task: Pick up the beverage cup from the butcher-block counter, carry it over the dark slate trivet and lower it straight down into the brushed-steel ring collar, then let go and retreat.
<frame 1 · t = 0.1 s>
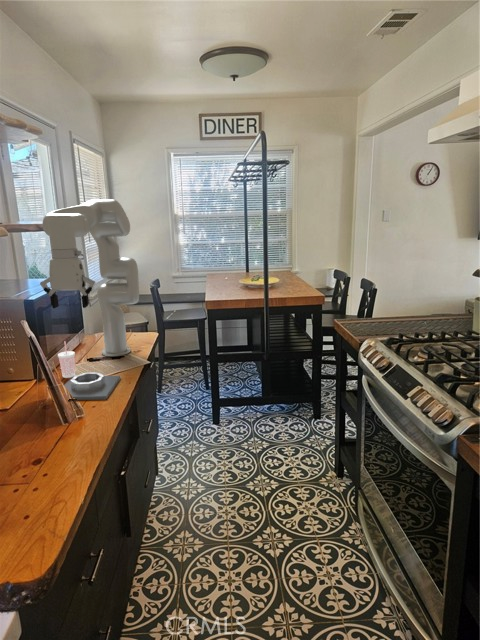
hand: (70, 307, 134), 31 cm above the kitchen counter, tool pointing down, fingers open, 9 cm apart
beverage cup: (69, 376, 159), on the kitchen counter
slate trivet: (88, 388, 146), on the kitchen counter
steel collar: (87, 381, 146), on the slate trivet, point 3 cm above the kitchen counter
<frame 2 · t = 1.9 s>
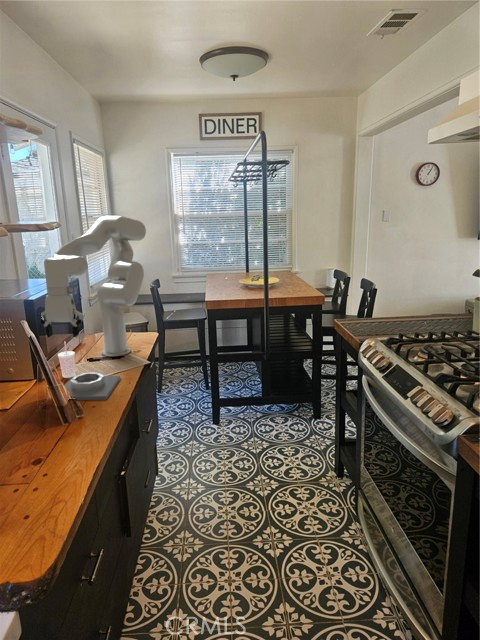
hand: (62, 336, 154), 16 cm above the kitchen counter, tool pointing down, fingers open, 9 cm apart
nothing on the kitchen counter moved.
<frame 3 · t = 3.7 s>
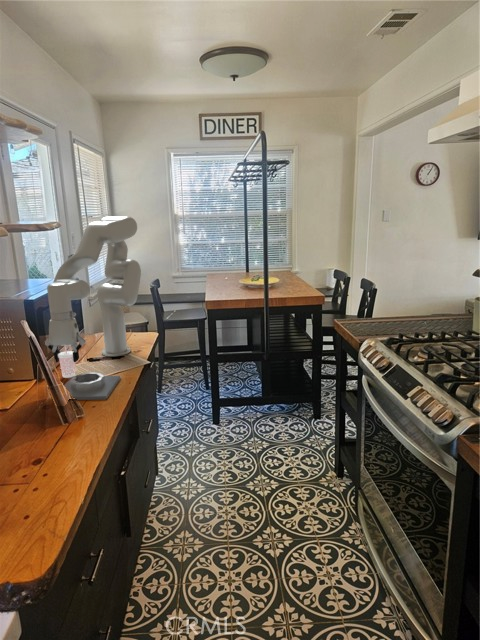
hand: (67, 360, 157), 6 cm above the kitchen counter, tool pointing down, fingers closed on beverage cup, 6 cm apart
beverage cup: (69, 376, 159), on the kitchen counter, touching gripper
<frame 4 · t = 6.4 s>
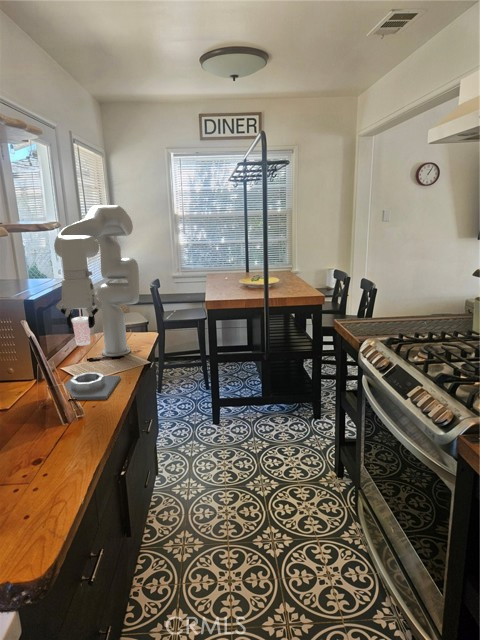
hand: (81, 326, 140), 23 cm above the kitchen counter, tool pointing down, fingers closed on beverage cup, 6 cm apart
beverage cup: (83, 344, 142), point 17 cm above the kitchen counter, touching gripper
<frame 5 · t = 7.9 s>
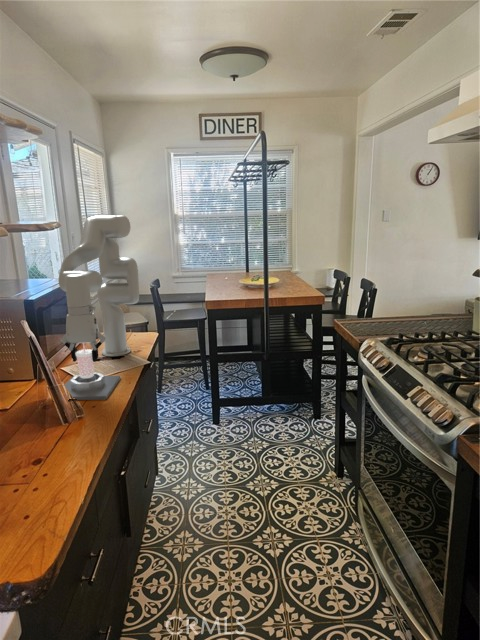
hand: (85, 359, 143), 11 cm above the kitchen counter, tool pointing down, fingers closed on beverage cup, 6 cm apart
beverage cup: (87, 376, 145), point 5 cm above the kitchen counter, touching gripper
when the fingers open (9 cm above the kitchen counter, at t = 9.2 s): beverage cup drops 1 cm, resting on slate trivet.
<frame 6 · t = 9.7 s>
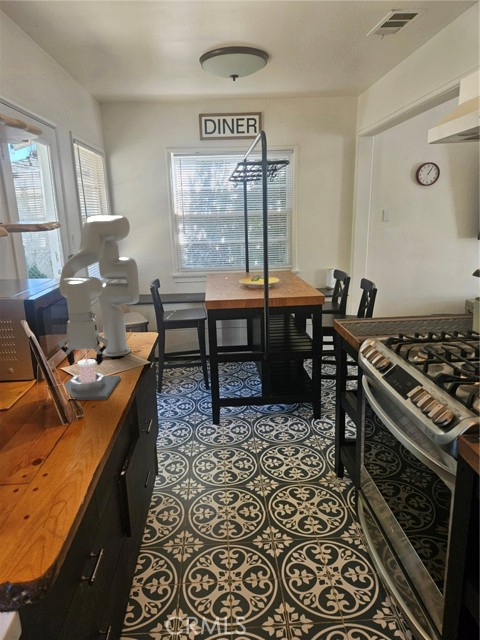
hand: (85, 363, 144), 9 cm above the kitchen counter, tool pointing down, fingers open, 9 cm apart
beverage cup: (88, 385, 146), point 1 cm above the kitchen counter, touching slate trivet
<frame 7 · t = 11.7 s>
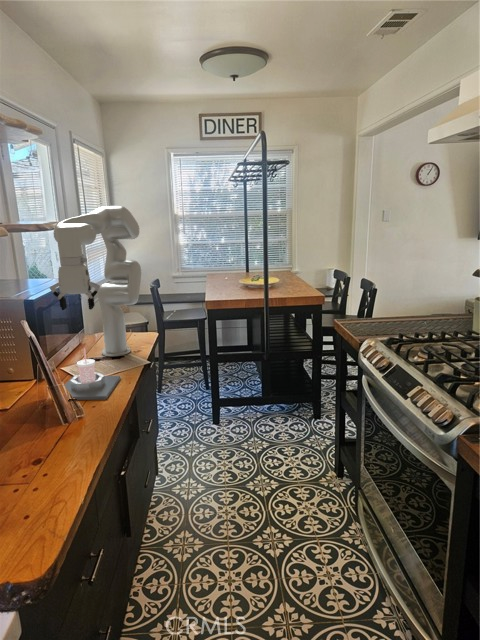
hand: (77, 308, 148), 27 cm above the kitchen counter, tool pointing down, fingers open, 9 cm apart
nothing on the kitchen counter moved.
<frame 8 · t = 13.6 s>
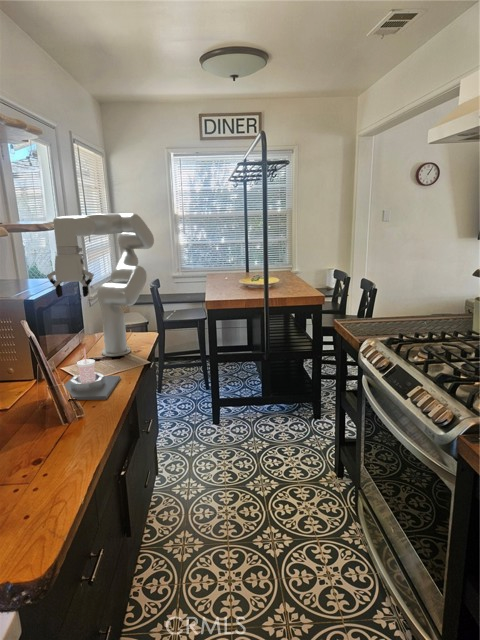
hand: (72, 296, 156), 30 cm above the kitchen counter, tool pointing down, fingers open, 9 cm apart
nothing on the kitchen counter moved.
at the end: beverage cup 0.2 cm from the steel collar (horizontally); beverage cup point 1.0 cm above the kitchen counter; beverage cup tilted 0° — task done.
